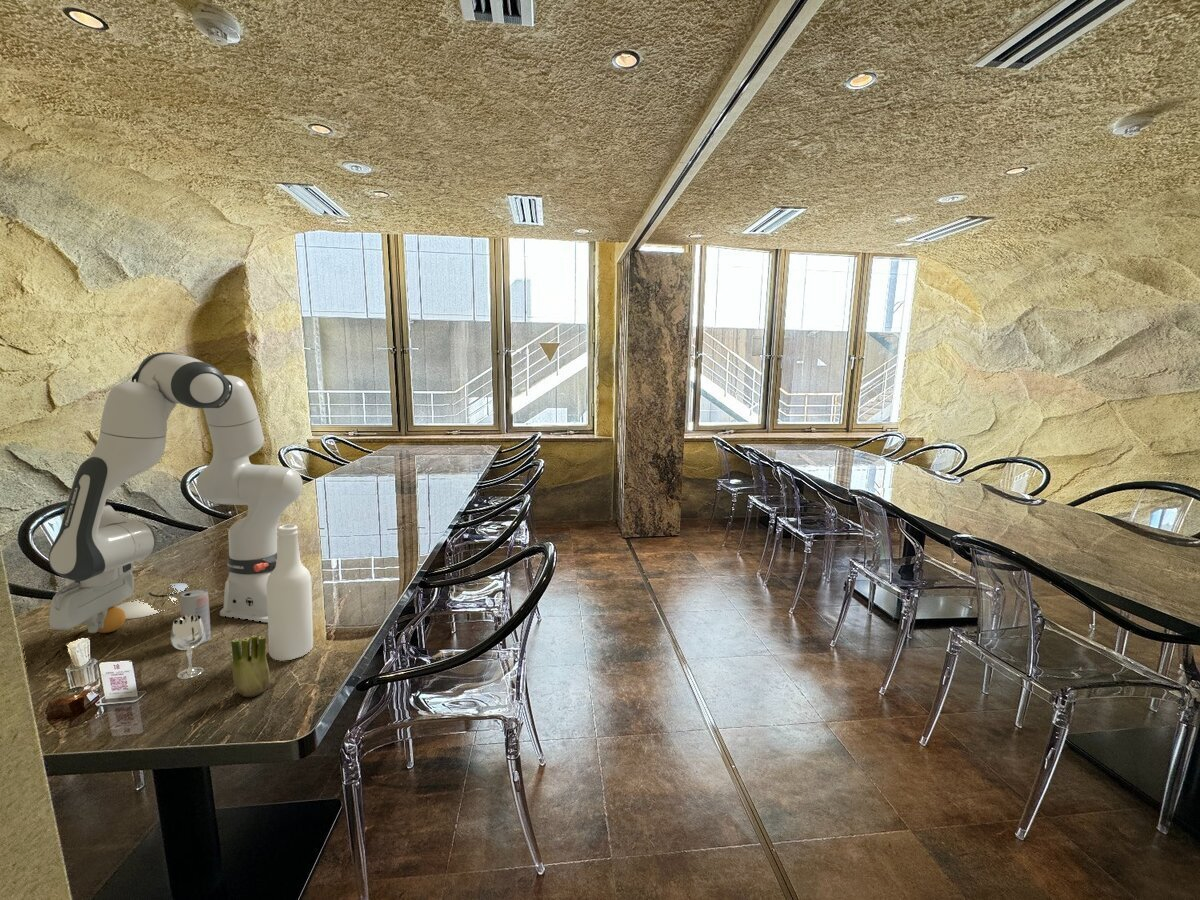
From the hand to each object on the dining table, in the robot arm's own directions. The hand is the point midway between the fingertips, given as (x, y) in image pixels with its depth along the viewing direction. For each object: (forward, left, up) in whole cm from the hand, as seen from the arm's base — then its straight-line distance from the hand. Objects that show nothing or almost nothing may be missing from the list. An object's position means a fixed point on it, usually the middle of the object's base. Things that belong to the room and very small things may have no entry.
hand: (96, 630), depth 124 cm
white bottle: (-44, -16, -2) cm, 47 cm away
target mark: (+10, -15, -2) cm, 18 cm away
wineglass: (-33, -1, -2) cm, 34 cm away
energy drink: (-20, -10, -2) cm, 23 cm away
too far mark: (+17, -25, -2) cm, 30 cm away
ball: (+2, -4, +1) cm, 4 cm away
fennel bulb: (-51, -2, -2) cm, 51 cm away
